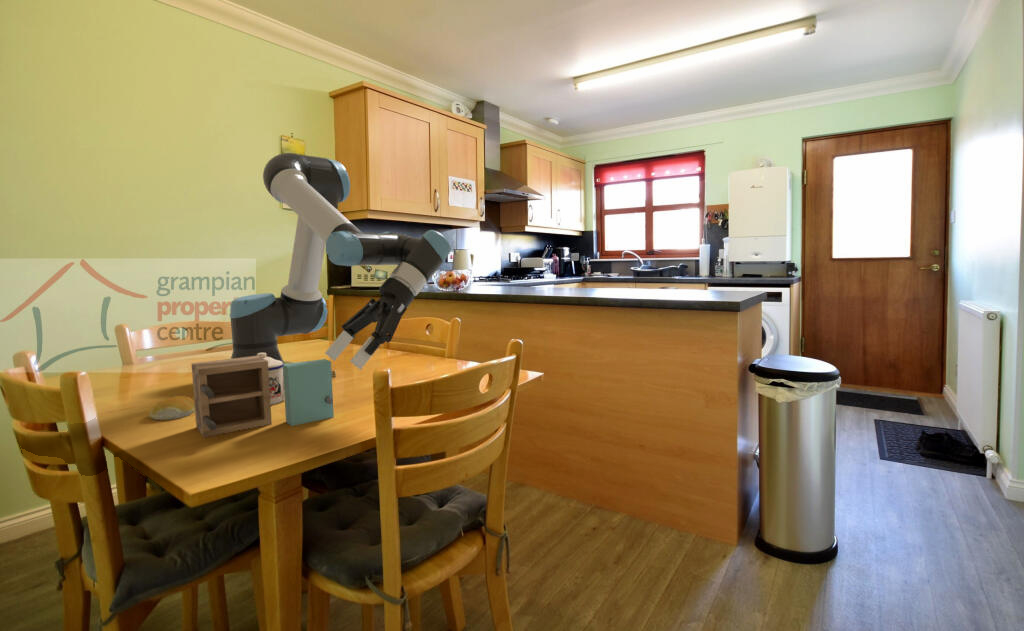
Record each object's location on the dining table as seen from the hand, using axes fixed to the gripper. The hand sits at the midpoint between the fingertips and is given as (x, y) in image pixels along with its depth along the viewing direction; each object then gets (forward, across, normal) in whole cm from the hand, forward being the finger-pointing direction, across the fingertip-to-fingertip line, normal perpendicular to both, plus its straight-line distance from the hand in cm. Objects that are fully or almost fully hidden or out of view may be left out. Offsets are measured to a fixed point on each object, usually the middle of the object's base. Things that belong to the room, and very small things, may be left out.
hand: (341, 361), depth 110 cm
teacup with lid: (+14, +22, -2) cm, 26 cm away
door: (+13, +1, -3) cm, 13 cm away
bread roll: (+28, +25, +11) cm, 39 cm away
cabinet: (+22, +4, +6) cm, 23 cm away
